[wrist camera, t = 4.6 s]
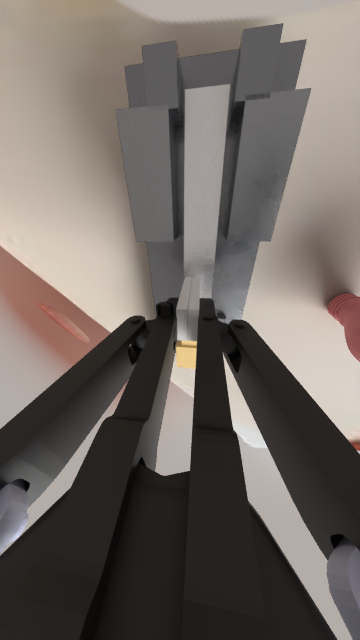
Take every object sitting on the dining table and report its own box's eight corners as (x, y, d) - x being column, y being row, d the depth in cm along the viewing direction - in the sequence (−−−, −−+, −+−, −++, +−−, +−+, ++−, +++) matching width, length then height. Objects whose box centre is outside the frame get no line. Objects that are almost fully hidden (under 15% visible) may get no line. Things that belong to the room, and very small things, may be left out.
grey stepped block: (142, 98, 15) (102, 26, 9) (282, 81, 13) (339, -17, 8) (165, 334, 30) (155, 362, 25) (229, 338, 29) (235, 370, 23)
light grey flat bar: (186, 100, 12) (184, 89, 11) (228, 96, 11) (230, 83, 11) (184, 315, 20) (183, 319, 19) (209, 317, 19) (209, 320, 18)
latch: (179, 313, 22) (175, 328, 19) (215, 315, 22) (217, 331, 19) (180, 349, 26) (176, 366, 23) (211, 351, 26) (211, 370, 23)
